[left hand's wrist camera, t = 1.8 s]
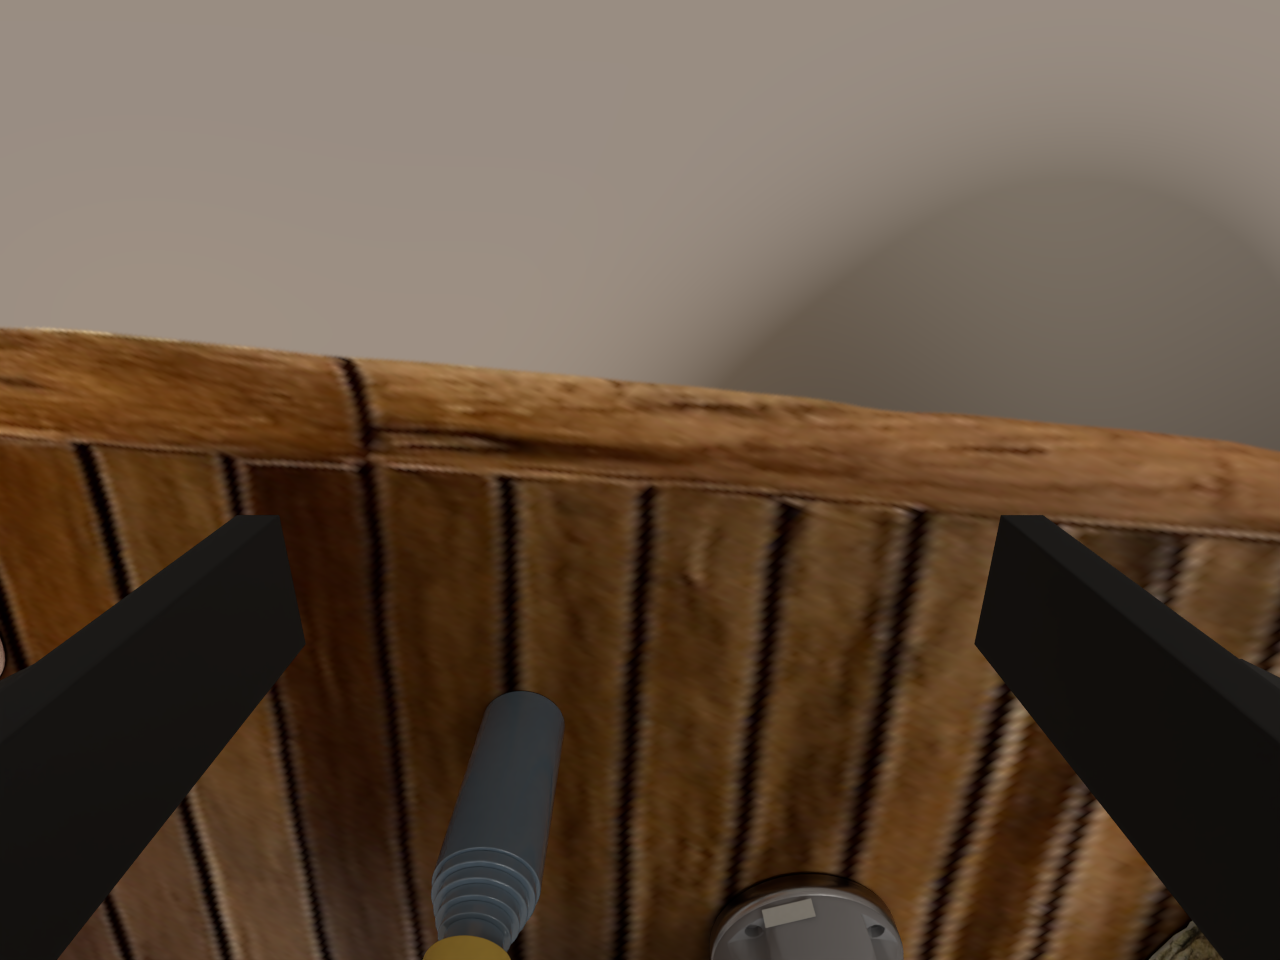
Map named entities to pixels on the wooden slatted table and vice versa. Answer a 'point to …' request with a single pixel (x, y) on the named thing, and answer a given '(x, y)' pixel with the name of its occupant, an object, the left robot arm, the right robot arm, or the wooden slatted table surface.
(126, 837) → the left robot arm
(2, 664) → the anatomical model
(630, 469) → the wooden slatted table surface
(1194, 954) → the fossil
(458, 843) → the bottle
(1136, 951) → the wooden slatted table surface
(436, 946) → the cap
